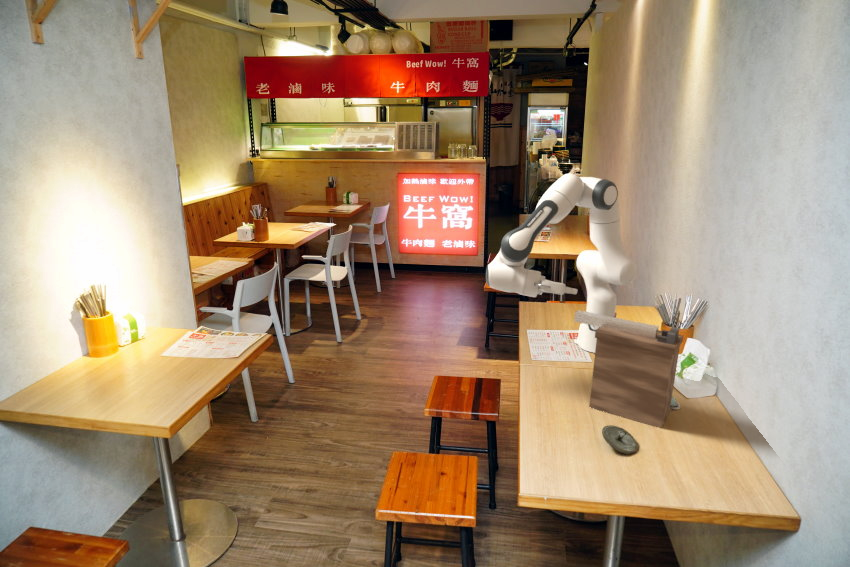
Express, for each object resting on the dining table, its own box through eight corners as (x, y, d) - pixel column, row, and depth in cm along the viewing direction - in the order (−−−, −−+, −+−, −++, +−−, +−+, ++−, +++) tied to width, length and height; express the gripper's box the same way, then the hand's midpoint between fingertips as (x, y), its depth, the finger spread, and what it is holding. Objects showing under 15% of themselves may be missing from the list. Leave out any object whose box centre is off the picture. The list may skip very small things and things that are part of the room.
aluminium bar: (577, 318, 189) (578, 310, 188) (657, 335, 175) (658, 326, 175) (574, 321, 186) (575, 312, 185) (655, 338, 173) (656, 329, 172)
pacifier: (677, 401, 191) (658, 399, 192) (680, 384, 189) (661, 382, 190) (682, 412, 184) (662, 409, 185) (686, 394, 182) (666, 392, 183)
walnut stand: (599, 392, 195) (608, 311, 187) (671, 412, 183) (684, 326, 175) (587, 407, 185) (596, 322, 177) (662, 429, 173) (676, 339, 165)
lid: (609, 432, 171) (611, 417, 169) (642, 444, 165) (645, 428, 163) (594, 447, 163) (596, 431, 162) (629, 460, 157) (631, 444, 156)
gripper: (538, 274, 183) (581, 282, 182) (531, 274, 204) (571, 281, 203) (534, 294, 184) (578, 302, 183) (528, 291, 204) (567, 299, 203)
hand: (574, 291), depth 193 cm, fingers open, 8 cm apart
